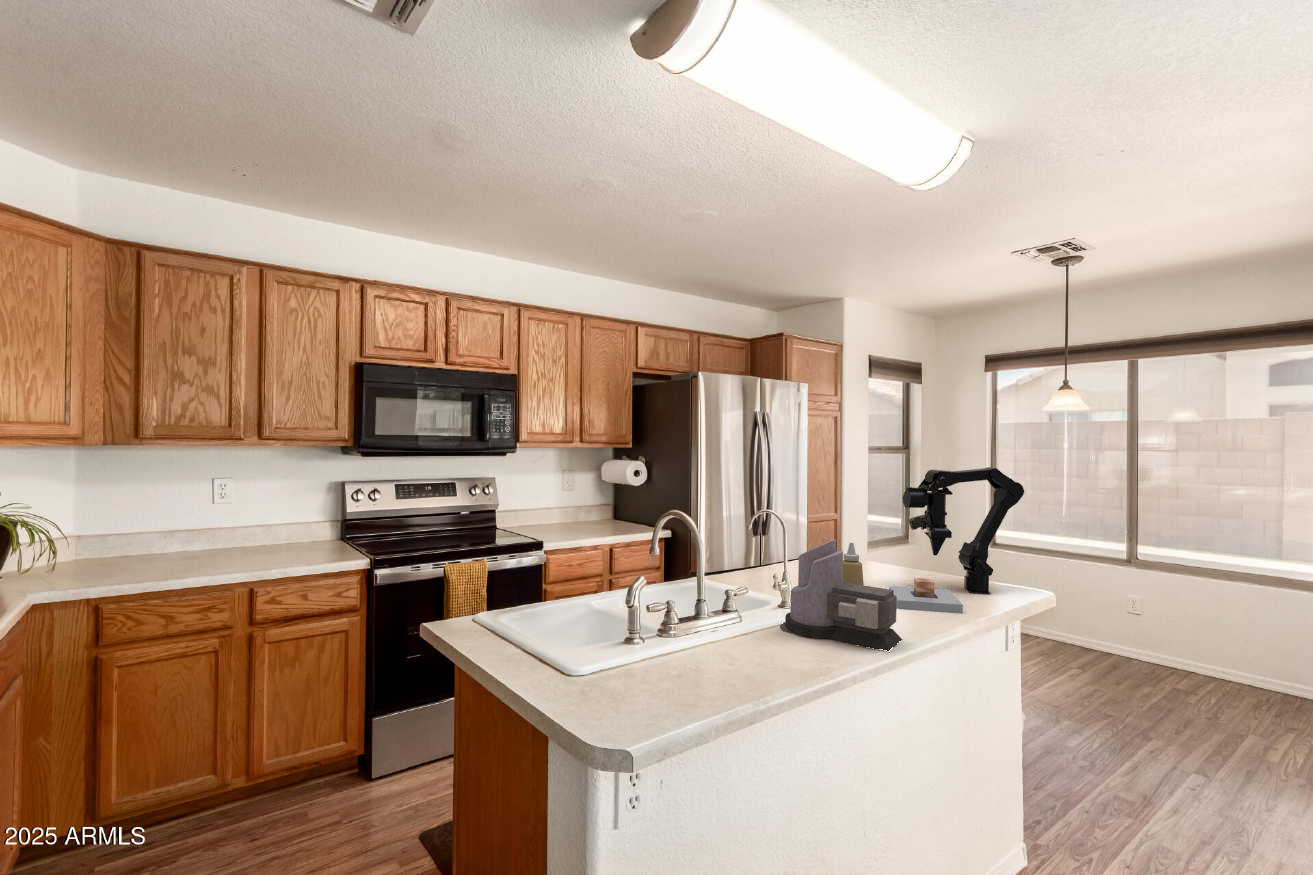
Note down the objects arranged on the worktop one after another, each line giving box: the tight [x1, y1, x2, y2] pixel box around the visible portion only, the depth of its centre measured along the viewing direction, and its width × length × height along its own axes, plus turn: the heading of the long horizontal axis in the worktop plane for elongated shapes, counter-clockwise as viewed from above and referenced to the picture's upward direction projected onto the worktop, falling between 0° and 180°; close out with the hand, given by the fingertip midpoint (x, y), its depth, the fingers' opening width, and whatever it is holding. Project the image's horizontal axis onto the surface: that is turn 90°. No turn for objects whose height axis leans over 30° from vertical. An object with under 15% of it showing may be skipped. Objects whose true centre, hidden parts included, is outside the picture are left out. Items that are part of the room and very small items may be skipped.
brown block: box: [913, 577, 935, 598], centre depth 197 cm, size 5×5×6 cm
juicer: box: [779, 538, 903, 651], centre depth 166 cm, size 30×16×24 cm, turn 55°
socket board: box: [888, 585, 964, 614], centre depth 197 cm, size 18×18×2 cm
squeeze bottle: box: [843, 542, 865, 586], centre depth 198 cm, size 8×8×18 cm
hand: (935, 555), depth 211 cm, fingers closed
